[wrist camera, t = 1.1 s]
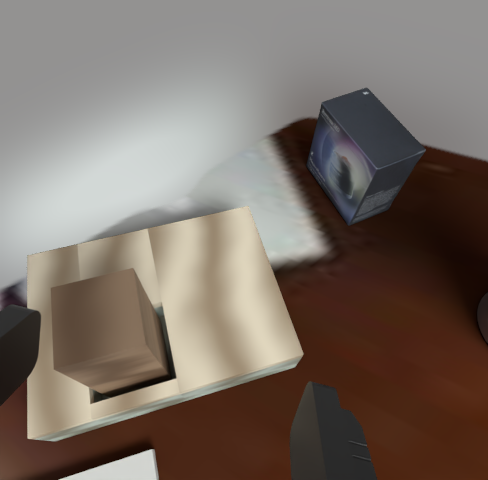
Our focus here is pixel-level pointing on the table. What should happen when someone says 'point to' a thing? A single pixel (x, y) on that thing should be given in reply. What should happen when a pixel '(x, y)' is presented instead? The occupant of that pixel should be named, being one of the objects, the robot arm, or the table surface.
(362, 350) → the table surface
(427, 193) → the table surface
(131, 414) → the slotted wooden base
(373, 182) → the small box
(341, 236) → the table surface
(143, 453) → the grey pad
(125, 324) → the brown wooden block
